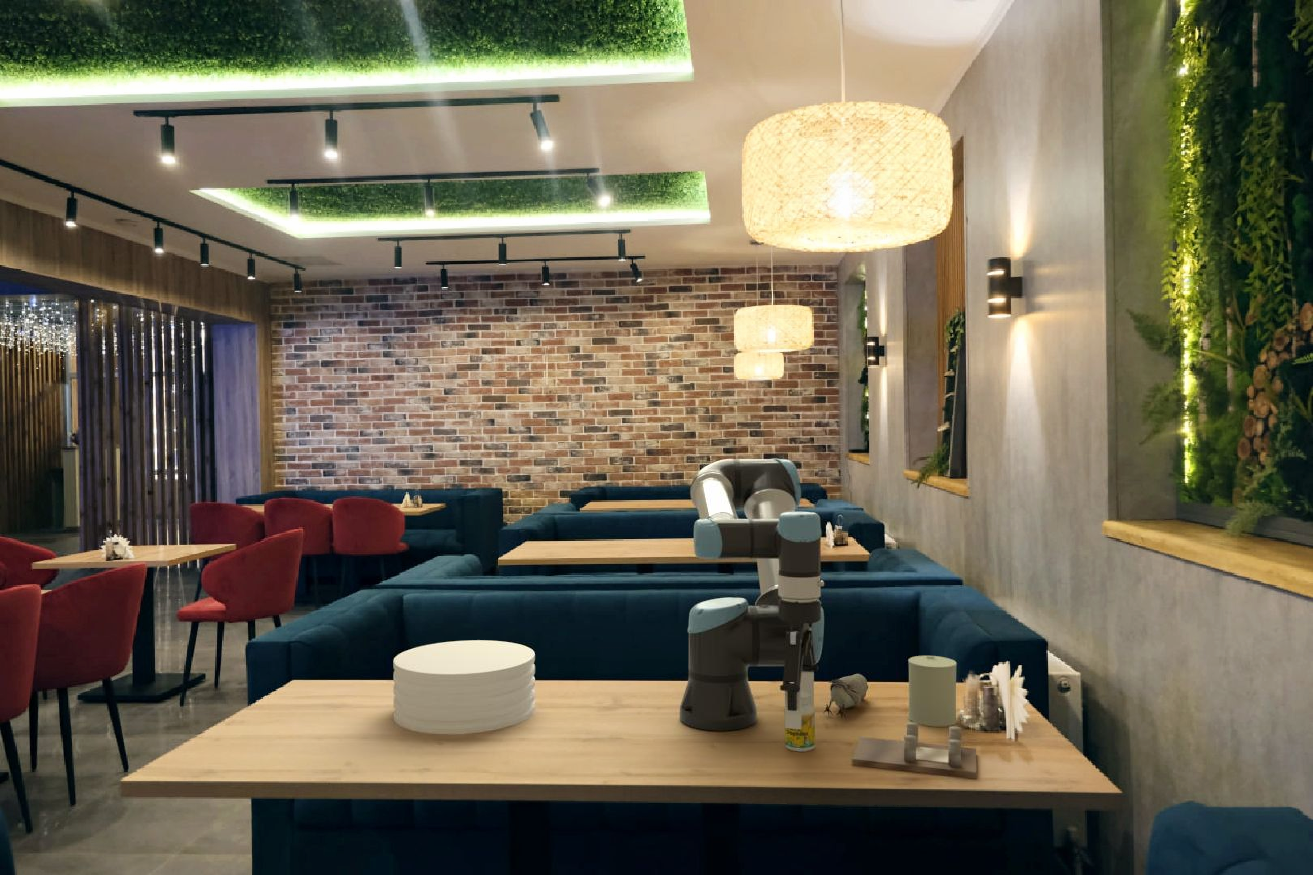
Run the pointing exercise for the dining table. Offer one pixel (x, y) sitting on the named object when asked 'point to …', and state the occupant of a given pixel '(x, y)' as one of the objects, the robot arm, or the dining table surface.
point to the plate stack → (464, 686)
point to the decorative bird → (847, 692)
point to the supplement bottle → (802, 728)
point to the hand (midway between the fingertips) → (799, 717)
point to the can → (932, 691)
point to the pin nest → (918, 754)
